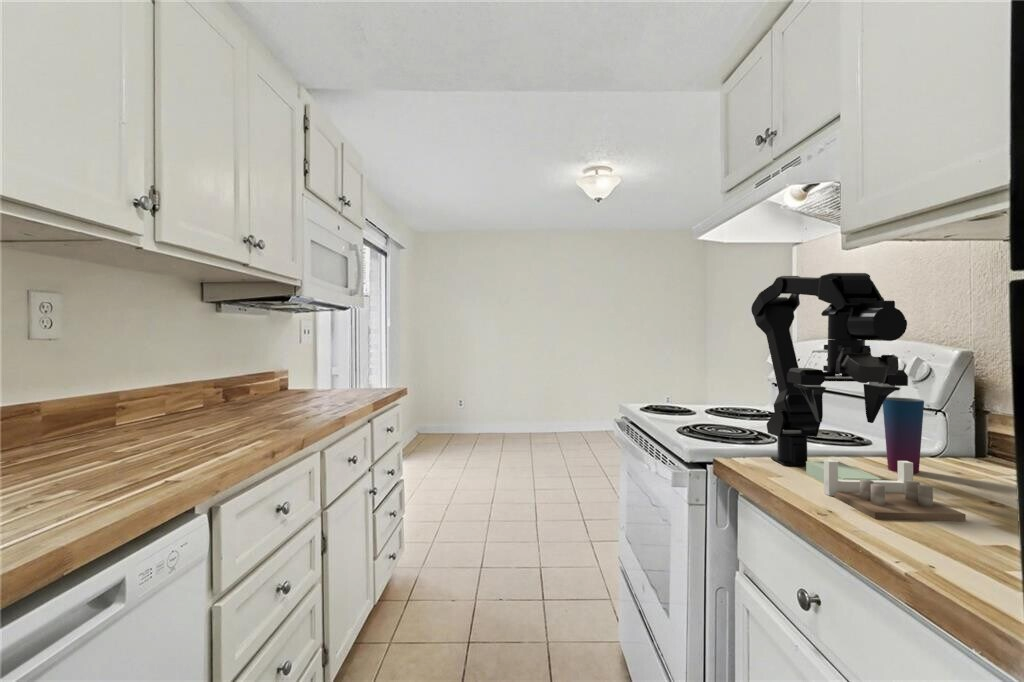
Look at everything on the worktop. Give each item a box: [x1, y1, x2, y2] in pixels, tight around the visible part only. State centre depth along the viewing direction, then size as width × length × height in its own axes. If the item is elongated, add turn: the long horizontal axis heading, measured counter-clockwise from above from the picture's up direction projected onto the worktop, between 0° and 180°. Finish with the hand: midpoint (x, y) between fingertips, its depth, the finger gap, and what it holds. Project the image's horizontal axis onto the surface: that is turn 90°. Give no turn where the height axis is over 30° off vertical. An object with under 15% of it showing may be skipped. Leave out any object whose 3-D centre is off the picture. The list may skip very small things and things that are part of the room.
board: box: [805, 460, 882, 484], centre depth 90 cm, size 12×6×3 cm, turn 176°
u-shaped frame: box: [823, 459, 914, 497], centre depth 83 cm, size 2×14×6 cm, turn 86°
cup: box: [882, 396, 925, 475], centre depth 99 cm, size 7×7×15 cm
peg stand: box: [834, 479, 967, 522], centre depth 76 cm, size 10×13×4 cm
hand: (844, 422), depth 89 cm, fingers open, 9 cm apart
